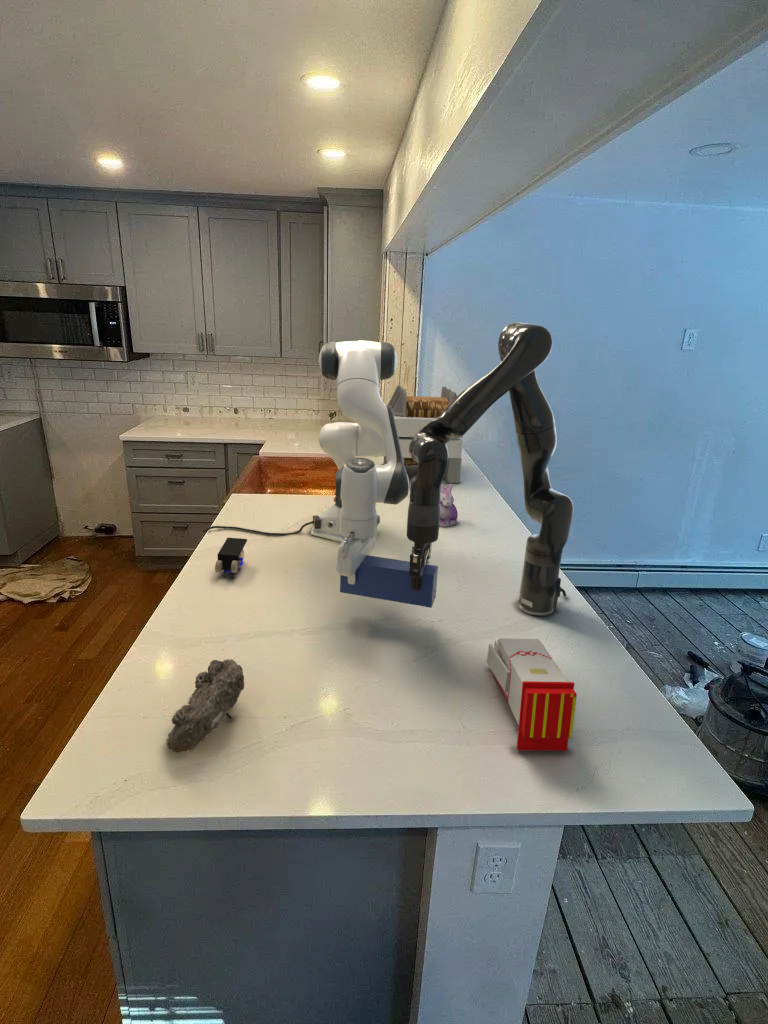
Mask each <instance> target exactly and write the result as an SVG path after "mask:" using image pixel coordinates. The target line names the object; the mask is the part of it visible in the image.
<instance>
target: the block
mask: <svg viewBox="0 0 768 1024" xmlns="http://www.w3.org/2000/svg"><path fill="white" fill-rule="evenodd" d="M421 564H422V563H421ZM414 571H416V572H418V570H417V569H415V570H414ZM409 572H410V560H409V561H408V560H403V559H402V560H401V559H397V558H389V557H382V556H375V555H370V554H368V555H367V556H366V557H365V559H364V560H363V561H362V563H361V564H360V566H359V567H358V568H357V570H356V572H355V575H356V576H357V579H356V582H355V584H349V583H348V577H347V576H342V575H339V592H340V593H342V594H348V595H355V596H360V597H366V598H372V599H378V600H382V601H389V602H395V603H401V604H406V605H413V606H418V607H425V608H430V609H432V608H433V605H434V603H435V600H436V598H437V597H436V596H437V585H438V572H439V565H434V564H429V563H428V564H426V566H425V567H424V568H423V572H422V579H421V589H420V591H414V590H412V589H411V583H412V577H410V576H409Z"/></svg>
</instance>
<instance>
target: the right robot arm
mask: <svg viewBox="0 0 768 1024" xmlns="http://www.w3.org/2000/svg"><path fill="white" fill-rule="evenodd" d="M497 348H498V355H499V358H500V363H499V364H498V365H497V366H496V367H494V368H493V369H492V370H490V371H489V372H488V373H487V374H485V375H484V376H483V377H481V378H480V379H478V380H477V381H475V382H473V383H472V384H470V385H469V386H468V387H465V389H463V391H461V392H460V393H459V394H458V395H457V397H456V398H455V399H454V400H453V401H452V402H451V403H450V405H449V406H448V407H447V408H446V409H445V410H444V411H443V412H442V414H441V415H440V416H438V417H437V418H435V419H434V420H432V421H431V422H430V423H428V424H427V425H426V426H425V427H423V428H422V429H421V430H420V431H418V432H417V433H416V435H415V436H414V437H413V439H412V440H411V442H410V445H409V453H410V455H411V457H412V458H413V459H414V460H415V461H416V462H418V466H417V472H416V475H415V476H413V477H412V478H411V481H410V486H409V503H408V507H407V517H406V518H407V520H406V539H408V540H409V541H410V542H413V546H411V550H410V551H411V553H410V555H409V562H410V572H409V576H410V577H412V583H411V589H412V590H414V591H420V589H421V579H422V572H423V568H424V567H425V566H426V564H429V563H430V559H431V557H432V544H433V543H436V542H437V541H438V540H439V535H440V533H439V532H440V526H439V522H440V496H441V484H443V481H444V479H445V478H444V475H445V472H446V468H447V464H448V449H447V446H446V443H447V442H449V441H450V440H451V439H454V438H460V437H462V436H463V437H464V435H466V434H467V433H468V431H470V430H471V428H472V427H473V426H474V425H475V424H476V423H477V422H478V421H479V419H481V417H482V416H483V415H484V414H485V413H486V412H487V411H489V409H490V408H491V407H492V406H494V404H495V403H497V402H498V401H499V400H500V398H502V397H504V395H505V394H507V393H508V394H509V400H510V404H511V411H512V417H513V423H514V430H515V431H514V432H515V436H516V442H517V446H518V451H519V457H520V464H521V470H522V471H521V472H522V479H523V497H524V507H525V511H526V512H525V513H526V514H527V515H528V517H529V518H530V519H531V520H532V521H535V522H536V523H538V524H540V529H539V533H534V534H530V535H529V536H528V537H527V539H526V543H525V544H526V545H525V551H524V559H523V567H522V573H521V579H520V588H519V593H518V594H519V595H518V599H517V608H518V609H519V610H520V611H521V612H524V613H525V614H528V615H531V616H537V617H545V616H550V615H552V614H553V613H554V612H556V611H557V607H558V601H559V598H560V597H561V593H562V596H563V597H567V593H566V590H565V589H563V588H562V586H561V583H562V579H561V577H559V575H560V569H561V563H562V556H563V550H564V547H565V546H566V543H568V539H569V536H570V532H571V531H570V530H571V526H572V523H573V522H572V521H573V518H574V503H573V500H572V499H571V497H569V496H568V495H566V494H564V493H563V492H559V491H557V490H555V489H553V487H552V485H551V481H550V480H551V479H550V473H549V466H550V462H551V460H552V458H553V455H554V454H555V451H556V448H557V444H558V443H557V442H558V437H557V436H558V435H557V429H556V422H555V416H554V412H553V410H552V408H551V406H550V404H549V402H548V400H547V398H546V395H545V393H544V392H543V390H542V388H541V386H540V384H539V381H538V378H537V374H536V369H537V368H539V367H540V366H541V365H543V363H544V362H545V361H546V360H547V359H548V358H549V355H551V352H552V349H553V337H552V334H551V332H550V331H549V329H548V328H546V327H544V326H542V325H539V324H536V323H529V322H528V323H527V322H517V321H515V322H511V323H509V324H507V325H506V326H505V327H504V328H503V329H502V330H501V333H500V334H499V337H498V341H497ZM460 439H461V438H460ZM421 563H422V564H421ZM415 569H417V570H418V572H416V571H414V570H415Z"/></svg>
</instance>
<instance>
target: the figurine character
mask: <svg viewBox="0 0 768 1024" xmlns="http://www.w3.org/2000/svg"><path fill="white" fill-rule="evenodd" d="M247 542H248V538H240V537H226V539H225V541H224V543H223V544H222V546H221V547H220V549H219V551H218V552H217V560H216V562H215V564H214V572H215V573H221V577H222V578H224V577H225V576H226V574H227V573H230V574H231V573H232V574H231V578H234V577H235V575H236V573H237V572H239V571H240V567H242V566H243V565H244V564H245V562H244V558H245V551H244V547H245V546H246V544H247Z"/></svg>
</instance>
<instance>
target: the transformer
mask: <svg viewBox="0 0 768 1024" xmlns="http://www.w3.org/2000/svg"><path fill="white" fill-rule="evenodd" d="M440 393H441V394H440V396H415V395H414V396H413V395H412V396H411V395H407V394H408V393H407V390H406V389H404V388H403V387H402V385H399V384H398V385H397V386H396V388H395V390H394V392H393V394H392V395H391V398H390V400H389V402H388V404H387V406H388V407H390V408H391V410H392V413H393V416H394V419H395V423H396V428H397V432H398V437H399V442H400V447H401V452H402V457H403V461H404V465H405V466H406V467H407V466H411V467H412V466H413V467H415V466H416V467H418V462H416V461H415V460H414V459H413V458H412V457H411V455H410V453H409V445H410V442H411V440H412V439H413V437H414V436H415V435H416V433H417V432H418V431H420V430H421V429H422V428H423V427H425V426H426V425H427V424H428V423H430V422H431V421H432V420H434V419H435V418H437V417H438V416H440V415H441V414H442V412H443V411H444V410H445V409H446V408H447V407H448V406H449V405H450V403H451V402H452V401H453V400H454V399H455V398H456V397H457V396H458V395H457V392H455V391H453V390H452V389H451V388H447V386H442V387H441V392H440ZM463 438H464V435H463V436H462V437H460V438H454V439H451V440H450V441H449V442H447V443H446V446H447V449H448V464H447V468H446V472H445V475H444V478H443V479H445V481H446V482H447V483H449V484H450V483H452V484H455V483H456V484H459V483H461V472H462V461H463V460H462V453H463V442H464V441H463V440H462V439H463ZM385 464H387V461H386V456H383V464H382V465H385Z"/></svg>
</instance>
